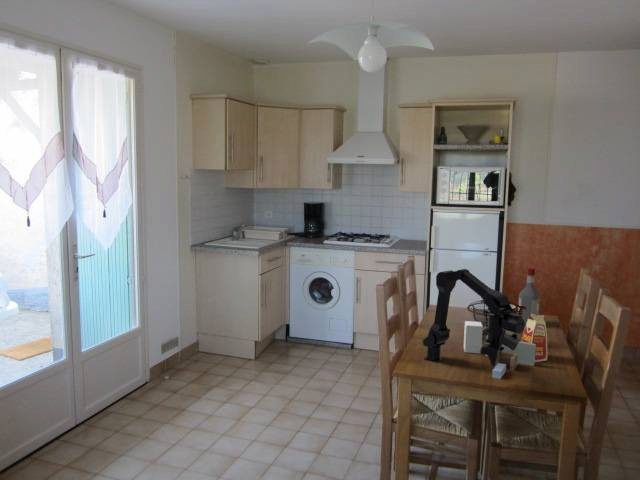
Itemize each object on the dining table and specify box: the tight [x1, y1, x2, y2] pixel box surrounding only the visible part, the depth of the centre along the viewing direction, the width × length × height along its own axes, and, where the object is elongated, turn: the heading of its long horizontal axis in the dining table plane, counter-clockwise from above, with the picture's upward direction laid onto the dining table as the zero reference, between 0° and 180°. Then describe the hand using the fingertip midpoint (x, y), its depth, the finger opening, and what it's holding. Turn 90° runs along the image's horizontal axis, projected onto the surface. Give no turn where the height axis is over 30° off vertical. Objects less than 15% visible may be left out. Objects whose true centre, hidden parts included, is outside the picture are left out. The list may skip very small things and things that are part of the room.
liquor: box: [517, 267, 541, 326], centre depth 274 cm, size 9×9×30 cm
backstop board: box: [484, 335, 536, 367], centre depth 224 cm, size 2×20×9 cm, turn 58°
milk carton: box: [521, 314, 548, 363], centre depth 226 cm, size 9×9×20 cm
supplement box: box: [463, 320, 484, 354], centre depth 235 cm, size 7×7×13 cm
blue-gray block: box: [491, 363, 507, 380], centre depth 209 cm, size 9×3×3 cm, turn 147°
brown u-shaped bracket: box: [492, 351, 518, 372], centre depth 218 cm, size 7×8×5 cm
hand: (493, 365), depth 200 cm, fingers closed
